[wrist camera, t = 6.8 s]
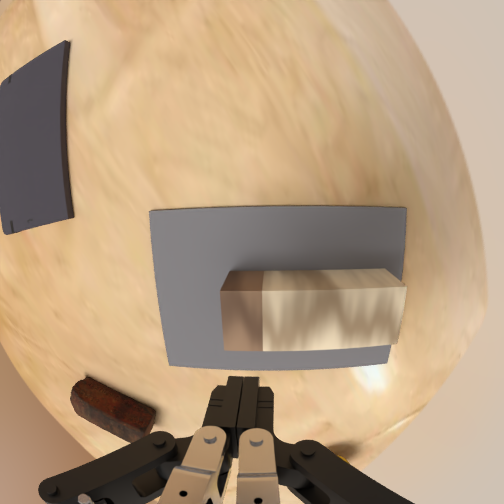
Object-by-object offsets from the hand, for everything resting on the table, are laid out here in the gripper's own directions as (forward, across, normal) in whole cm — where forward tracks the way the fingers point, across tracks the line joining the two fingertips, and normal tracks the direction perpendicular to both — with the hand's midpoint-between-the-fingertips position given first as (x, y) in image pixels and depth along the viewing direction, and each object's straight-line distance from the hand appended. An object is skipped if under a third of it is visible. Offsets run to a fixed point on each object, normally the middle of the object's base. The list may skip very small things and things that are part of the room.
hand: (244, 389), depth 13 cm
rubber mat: (+13, -2, 0) cm, 13 cm away
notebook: (+14, +26, -18) cm, 35 cm away
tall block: (+10, +2, 0) cm, 11 cm away
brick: (+14, +18, +16) cm, 28 cm away
